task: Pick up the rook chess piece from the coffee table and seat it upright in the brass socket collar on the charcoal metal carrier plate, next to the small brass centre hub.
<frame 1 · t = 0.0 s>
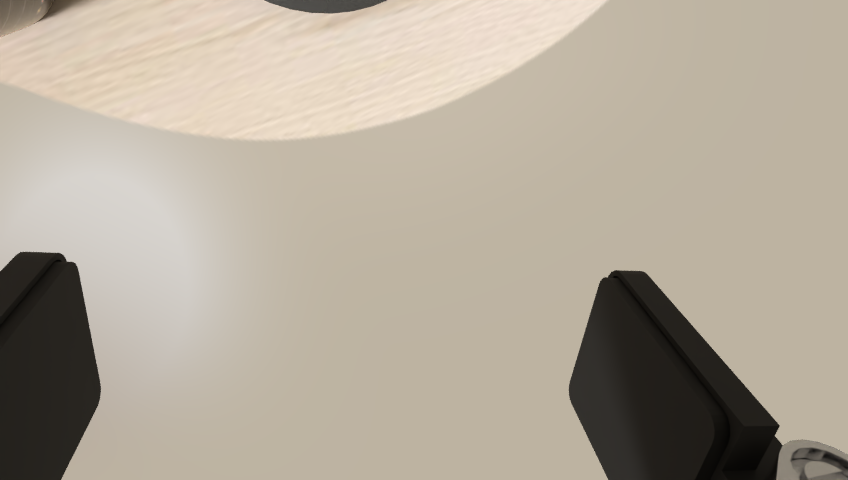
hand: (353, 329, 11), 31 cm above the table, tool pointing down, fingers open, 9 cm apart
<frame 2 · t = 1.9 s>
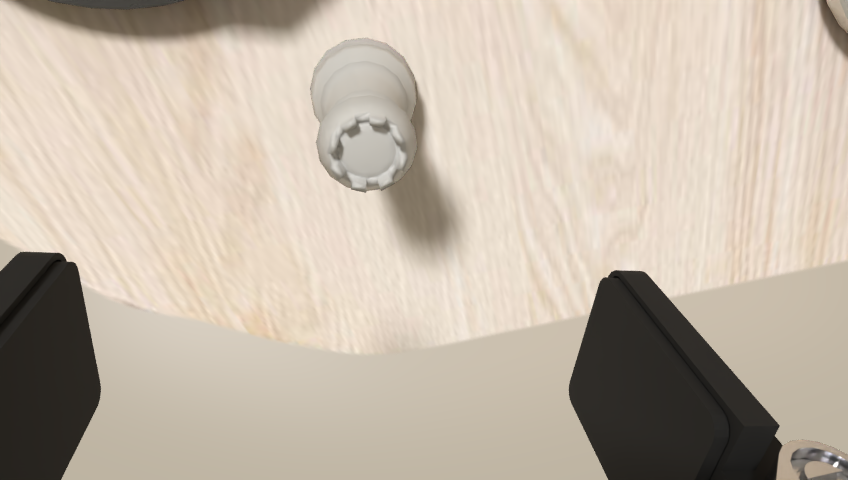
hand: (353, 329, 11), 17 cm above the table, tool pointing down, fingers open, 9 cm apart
rook chess piece: (363, 88, 25), on the table
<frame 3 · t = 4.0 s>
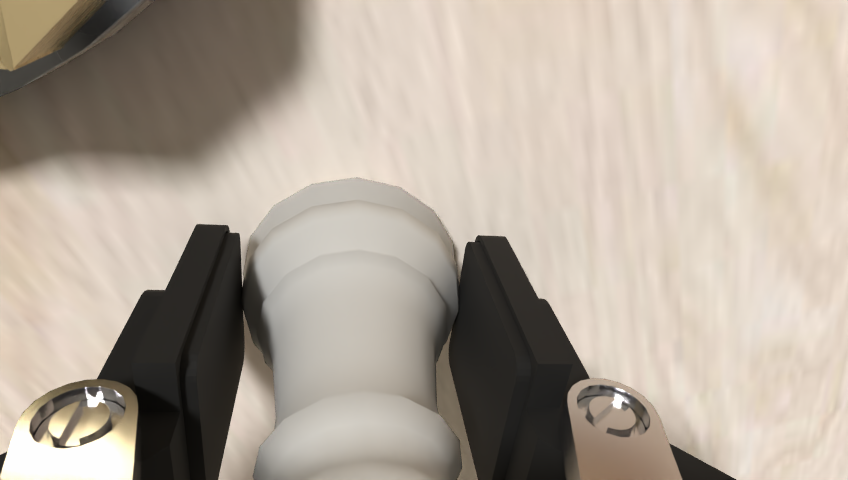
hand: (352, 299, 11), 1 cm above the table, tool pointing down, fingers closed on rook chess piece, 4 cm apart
rook chess piece: (351, 259, 13), on the table, touching gripper
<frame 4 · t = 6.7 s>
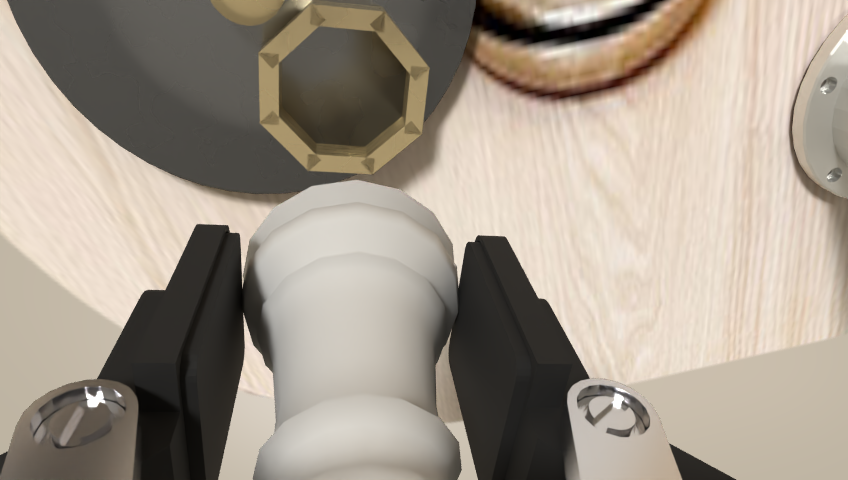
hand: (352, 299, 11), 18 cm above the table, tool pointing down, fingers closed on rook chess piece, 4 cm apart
rook chess piece: (351, 260, 13), point 17 cm above the table, touching gripper
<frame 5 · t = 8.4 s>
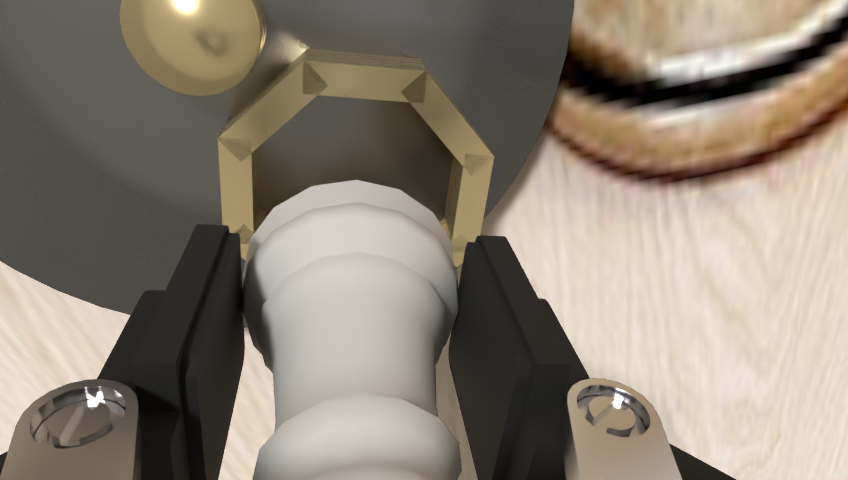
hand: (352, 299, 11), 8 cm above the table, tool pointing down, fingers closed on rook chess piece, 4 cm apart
carrier plate: (216, 12, 16), on the table
rook chess piece: (351, 261, 13), point 6 cm above the table, touching gripper
when the fingers open (4 cm above the table, at t = 9.5 s): rook chess piece drops 1 cm, resting on carrier plate.
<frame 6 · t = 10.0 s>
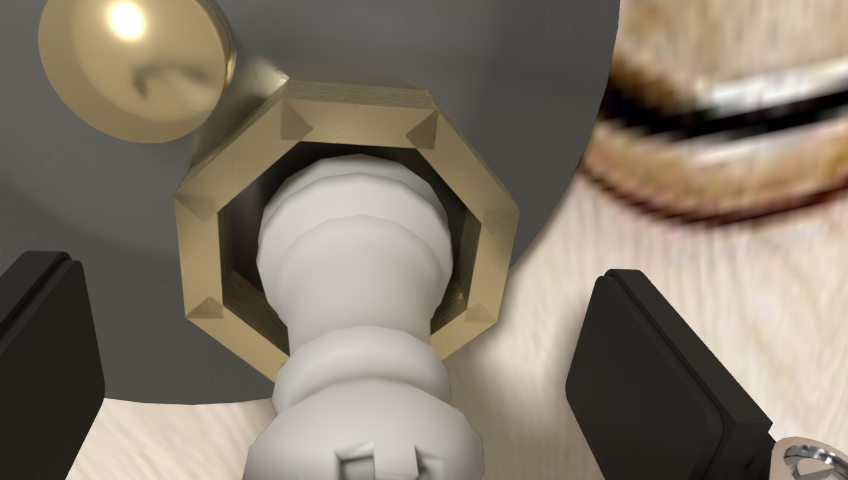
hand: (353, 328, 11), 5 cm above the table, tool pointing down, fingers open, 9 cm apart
carrier plate: (175, 32, 13), on the table
rook chess piece: (355, 230, 14), point 1 cm above the table, touching carrier plate
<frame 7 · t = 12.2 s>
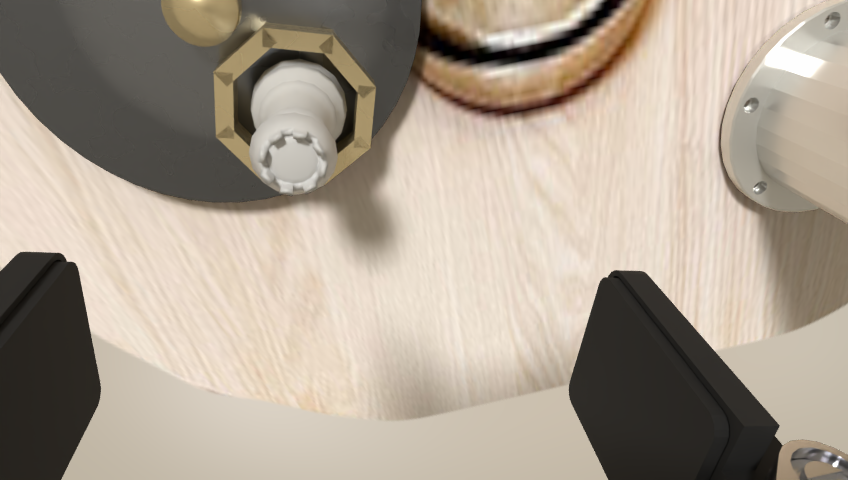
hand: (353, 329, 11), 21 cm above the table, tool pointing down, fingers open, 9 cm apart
carrier plate: (211, 0, 27), on the table
rook chess piece: (300, 103, 28), point 1 cm above the table, touching carrier plate
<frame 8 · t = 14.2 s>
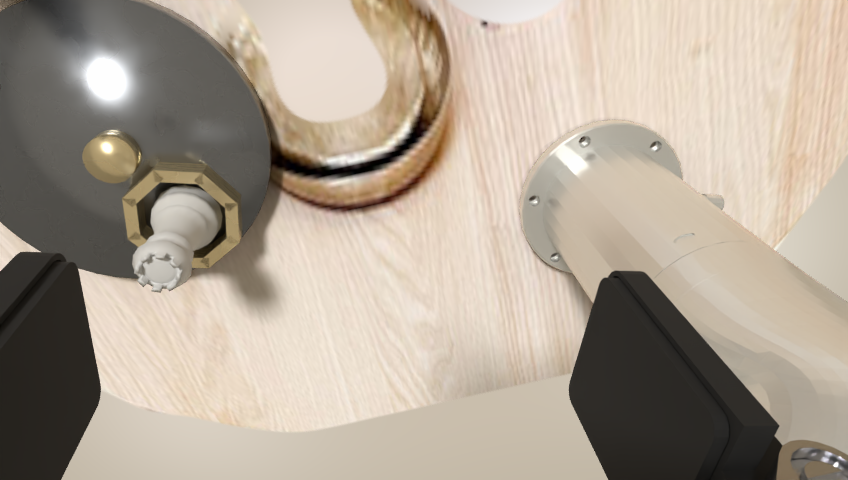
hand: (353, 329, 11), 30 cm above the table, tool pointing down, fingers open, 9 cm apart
carrier plate: (124, 144, 38), on the table
rook chess piece: (190, 211, 40), point 1 cm above the table, touching carrier plate
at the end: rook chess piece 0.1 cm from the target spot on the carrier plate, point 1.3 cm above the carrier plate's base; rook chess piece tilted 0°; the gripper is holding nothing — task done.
